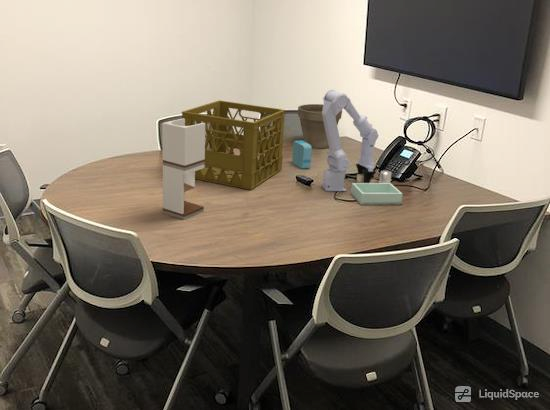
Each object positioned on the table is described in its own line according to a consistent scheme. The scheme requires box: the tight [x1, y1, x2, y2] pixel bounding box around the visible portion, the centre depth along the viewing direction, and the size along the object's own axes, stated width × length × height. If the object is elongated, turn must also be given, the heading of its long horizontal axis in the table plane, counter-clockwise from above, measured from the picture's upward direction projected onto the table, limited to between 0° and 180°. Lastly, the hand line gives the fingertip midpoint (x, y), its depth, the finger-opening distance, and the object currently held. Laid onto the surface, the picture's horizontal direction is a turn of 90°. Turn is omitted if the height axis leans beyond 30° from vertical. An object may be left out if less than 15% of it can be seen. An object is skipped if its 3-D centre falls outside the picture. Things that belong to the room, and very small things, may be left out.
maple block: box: [355, 173, 372, 183], centre depth 265 cm, size 5×5×5 cm
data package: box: [291, 140, 313, 170], centre depth 288 cm, size 12×4×12 cm, turn 24°
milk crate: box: [180, 99, 287, 191], centre depth 266 cm, size 35×36×30 cm
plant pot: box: [297, 103, 343, 149], centre depth 327 cm, size 25×25×22 cm
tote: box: [350, 182, 403, 206], centre depth 248 cm, size 18×14×5 cm
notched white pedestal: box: [161, 118, 206, 221], centre depth 215 cm, size 11×11×35 cm
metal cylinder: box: [378, 169, 392, 183], centre depth 265 cm, size 5×5×7 cm
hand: (363, 181), depth 265 cm, fingers open, 7 cm apart
